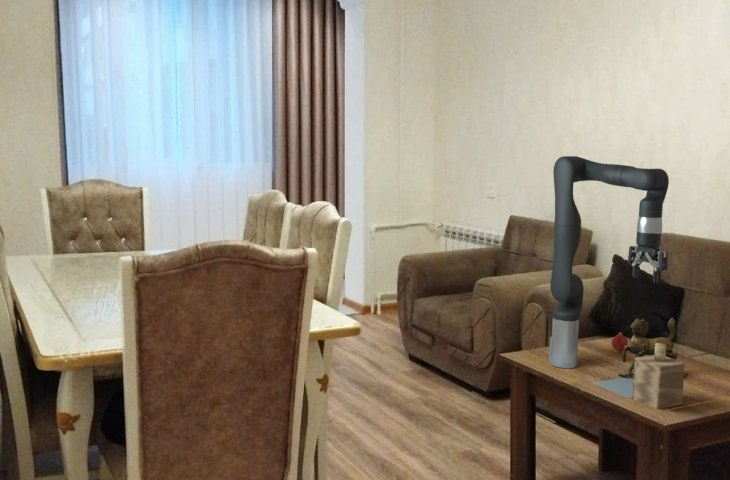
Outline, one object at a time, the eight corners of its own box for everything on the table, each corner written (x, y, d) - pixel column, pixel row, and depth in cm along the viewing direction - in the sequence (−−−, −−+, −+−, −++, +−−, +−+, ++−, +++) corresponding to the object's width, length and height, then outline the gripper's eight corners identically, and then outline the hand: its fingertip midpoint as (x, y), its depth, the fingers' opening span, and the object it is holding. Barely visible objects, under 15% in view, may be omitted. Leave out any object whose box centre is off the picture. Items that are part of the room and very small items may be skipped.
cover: (632, 399, 234) (635, 342, 232) (655, 395, 239) (659, 338, 236) (657, 410, 225) (661, 350, 223) (681, 405, 230) (686, 346, 227)
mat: (592, 384, 249) (592, 382, 249) (627, 378, 256) (627, 376, 256) (628, 399, 235) (628, 397, 235) (664, 392, 242) (664, 391, 242)
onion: (608, 350, 289) (609, 330, 288) (620, 349, 291) (621, 329, 290) (617, 355, 284) (618, 334, 283) (630, 353, 285) (631, 333, 284)
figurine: (610, 370, 264) (613, 314, 262) (678, 370, 266) (681, 314, 264) (626, 380, 251) (630, 321, 249) (697, 380, 253) (701, 322, 251)
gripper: (624, 228, 244) (621, 277, 246) (658, 234, 231) (654, 285, 233) (640, 227, 247) (637, 275, 249) (675, 233, 234) (672, 283, 237)
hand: (646, 280), depth 241 cm, fingers open, 8 cm apart
